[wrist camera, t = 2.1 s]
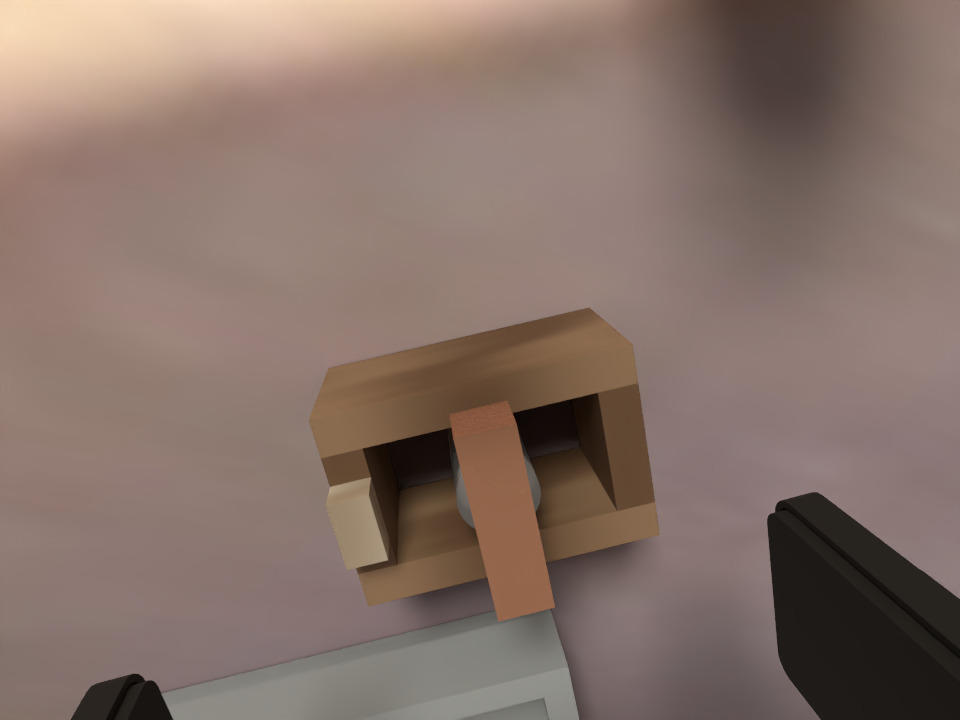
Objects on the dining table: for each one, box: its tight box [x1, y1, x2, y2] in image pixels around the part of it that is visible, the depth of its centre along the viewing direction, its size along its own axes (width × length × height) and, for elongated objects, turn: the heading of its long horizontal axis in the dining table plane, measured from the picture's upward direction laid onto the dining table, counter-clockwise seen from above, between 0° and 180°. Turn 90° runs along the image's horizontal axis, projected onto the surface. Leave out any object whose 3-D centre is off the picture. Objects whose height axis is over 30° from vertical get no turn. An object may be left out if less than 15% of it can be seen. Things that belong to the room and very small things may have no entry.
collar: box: [309, 308, 660, 606], centre depth 16 cm, size 7×5×4 cm
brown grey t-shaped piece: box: [447, 401, 555, 622], centre depth 15 cm, size 2×4×5 cm, turn 12°
